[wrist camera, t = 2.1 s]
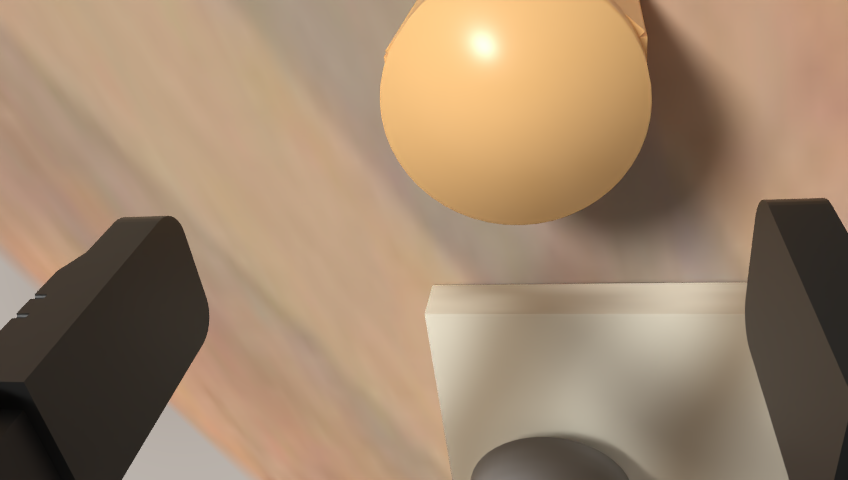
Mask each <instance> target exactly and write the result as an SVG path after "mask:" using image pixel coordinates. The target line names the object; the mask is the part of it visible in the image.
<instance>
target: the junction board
mask: <svg viewBox="0 0 848 480" xmlns="http://www.w3.org/2000/svg"><path fill="white" fill-rule="evenodd" d="M746 290H747V282H729V283H615V284H502V285H432V289H431V293H430V296H429V300H428V304H427V307H426V311H425V319H426V325H427V331H428V337H429V343H430V348H431V354H432V360H433V366H434V372H435V378H436V384H437V390H438V396H439V402H440V408H441V414H442V420H443V426H444V432H445V438H446V444H447V450H448V456H449V462H450V468H451V474H452V480H789V478H788V474H787V471H786V468H785V465H784V461H783V458H782V455H781V451H780V448H779V445H778V442H777V438H776V435H775V432H774V428H773V425H772V422H771V419H770V415H769V412H768V409H767V405H766V402H765V399H764V396H763V392H762V389H761V386H760V382H759V379H758V376H757V372H756V369H755V366H754V363H753V359H752V356H751V353H750V349H749V346H748V341H747V335H746V327H745V299H746Z"/></svg>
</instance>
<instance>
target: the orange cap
mask: <svg viewBox="0 0 848 480" xmlns="http://www.w3.org/2000/svg"><path fill="white" fill-rule="evenodd" d="M384 60H385V65H384V68H383V73H382V79H381V85H380V107H381V116H382V121H383V125H384V129H385V133H386V136H387V139H388V141H389V144H390V146H391V149H392V150H393V152H394V154H395V156H396V158H397V160H398V161H399V163H400V164H401V166H402V167H403V168H404V170H405V171H406V173H407V174H408V175H409V176H410V177H411V178H412V180H413V181H414V182H415V183H416V184H417V185H418V186H419V187H420V188H421V189H423V190H424V191H425V192H426V193H427V194H428V195H430V196H431V197H432V198H434V199H435V200H437V201H438V202H440V203H441V204H443V205H444V206H446V207H448V208H450V209H452V210H454V211H456V212H458V213H460V214H463V215H466V216H468V217H471V218H474V219H478V220H482V221H486V222H490V223H497V224H504V225H527V224H538V223H543V222H548V221H553V220H556V219H559V218H563V217H566V216H569V215H571V214H573V213H575V212H578V211H580V210H582V209H584V208H586V207H587V206H589V205H591V204H592V203H594V202H596V201H597V200H599V199H600V198H601V197H602V196H604V195H605V194H606V193H608V192H609V191H610V190H611V189H612V188H613V187H614V186H615V185H616V184H617V183H618V182H619V181H620V180H621V179H622V178H623V176H624V175H625V174H626V173H627V171H628V170H629V169H630V167H631V166H632V164H633V163H634V161H635V159H636V157H637V156H638V154H639V152H640V150H641V147H642V145H643V142H644V140H645V137H646V135H647V131H648V126H649V122H650V117H651V106H652V94H651V82H650V77H649V72H648V67H647V33H646V28H645V24H644V19H643V15H642V10H641V6H640V1H639V0H417V1H416V2H415V4H414V6H413V7H412V9H411V10H410V12H409V14H408V15H407V17H406V18H405V20H404V22H403V23H402V25H401V27H400V28H399V30H398V31H397V33H396V35H395V36H394V38H393V39H392V41H391V43H390V44H389V46H388V47H387V49H386V54H385V56H384Z"/></svg>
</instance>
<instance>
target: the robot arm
mask: <svg viewBox="0 0 848 480" xmlns="http://www.w3.org/2000/svg"><path fill="white" fill-rule="evenodd" d="M208 326H209V307H208V302H207V298H206V295H205V292H204V290H203V287H202V284H201V281H200V278H199V275H198V272H197V269H196V266H195V263H194V260H193V257H192V254H191V251H190V248H189V245H188V242H187V239H186V236H185V233H184V231H183V228H182V226H181V224H180V223H179V222H178V220H176V219H175V218H174V217H172V216H151V217H123V218H120V219H118V220H117V221H116V222H114V223H113V225H112V226H111V227H110V228H109V229H108V230H107V231H106V232H105V233H104V234H103V235H102V236H101V237H100V238H99V240H98V241H97V242H96V243H95V244H94V245H93V246H92V247H91V248H90V249H89V250H88V251H87V252H86V253H85V254H83V255H82V256H80V257H78V258H77V259H75V260H74V261H72V262H71V263H69V264H68V265H66V266H64V267H63V268H61V269H60V270H58V271H57V272H56V273H55V274H54V275H53V276H52V277H51V278H50V279H49V280H48V281H47V282H46V283H45V284H44V285H43V286H42V287H41V289H40V290H39V291H38V292H37V293H36V294H35V299H30V300H29V301H28V302H27V303H26V304H25V305H24V306H23V307H22V308H21V309H20V311H19V312H18V313H17V318H14V319H11V320H10V321H9V322H8V323H7V324H6V325H5V326H4V327H3V328H2V330H0V480H122V478H123V477H124V475H125V473H126V472H127V470H128V468H129V466H130V465H131V463H132V462H133V460H134V458H135V456H136V455H137V453H138V451H139V450H140V448H141V446H142V445H143V443H144V442H145V440H146V438H147V437H148V435H149V433H150V431H151V430H152V428H153V427H154V425H155V423H156V422H157V420H158V418H159V417H160V415H161V413H162V411H163V410H164V408H165V406H166V405H167V403H168V401H169V400H170V398H171V396H172V395H173V393H174V391H175V390H176V388H177V386H178V385H179V383H180V381H181V380H182V378H183V376H184V375H185V373H186V371H187V370H188V368H189V366H190V365H191V363H192V361H193V360H194V358H195V356H196V355H197V353H198V351H199V350H200V348H201V346H202V345H203V343H204V341H205V338H206V336H207V332H208ZM745 327H746V335H747V341H748V346H749V349H750V353H751V356H752V359H753V363H754V366H755V369H756V372H757V376H758V379H759V382H760V386H761V389H762V392H763V396H764V399H765V402H766V405H767V409H768V412H769V415H770V419H771V422H772V425H773V428H774V432H775V435H776V438H777V442H778V445H779V448H780V451H781V455H782V458H783V461H784V465H785V468H786V471H787V474H788V478H789V480H848V233H847V231H846V229H845V227H844V226H843V224H842V222H841V220H840V219H839V217H838V215H837V213H836V212H835V210H834V208H833V206H832V205H831V203H830V202H829V200H827V199H825V198H811V199H777V200H762V201H761V202H760V203H759V205H758V208H757V212H756V217H755V225H754V233H753V241H752V249H751V257H750V265H749V274H748V282H747V290H746V299H745Z"/></svg>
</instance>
